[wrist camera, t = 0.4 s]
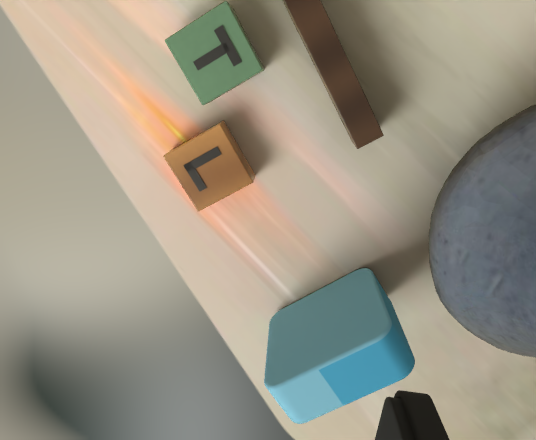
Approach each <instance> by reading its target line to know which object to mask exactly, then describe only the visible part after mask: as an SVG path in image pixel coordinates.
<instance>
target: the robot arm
mask: <svg viewBox="0 0 536 440" xmlns="http://www.w3.org/2000/svg"><path fill="white" fill-rule="evenodd" d="M375 440H449V438H448V435H447V433H446V431H445V429H444V426H443V424H442V422H441V419H440V417H439V415H438V413H437V410H436V408H435V406H434V403H433V401H432V399H431V397H430V396H429V395H428V394H423V393H415V392H408V391H400V390H399V391H397V392H396V394H395V396H394V398H392V397H387V398H386V399H385V402H384V406H383V410H382V414H381V418H380V422H379V426H378V430H377V433H376V437H375Z"/></svg>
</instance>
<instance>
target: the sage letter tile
mask: <svg viewBox="0 0 536 440" xmlns="http://www.w3.org/2000/svg"><path fill="white" fill-rule="evenodd" d="M165 42H166V44H167V45H168V47H169V49H170V51H171V52H172V54H173V56H174V57H175V59H176V61H177V63H178V64H179V66H180V68H181V69H182V71H183V73H184V75H185V76H186V78H187V80H188V81H189V83H190V85H191V87H192V88H193V90H194V92H195V93H196V95H197V97H198V99H199V100H200V102H201V104H202V105H205V104H207V103H209V102H211V101H213V100H214V99H216V98H218V97H219V96H221V95H223V94H224V93H226V92H228V91H229V90H231V89H233V88H235V87H236V86H238V85H240V84H241V83H243V82H245V81H246V80H248V79H250V78H251V77H253V76H255V75H257V74H258V73H260V72H262V71H263V70H264V67H263V65H262V64H261V62H260V60H259V58H258V56H257V54H256V52H255V50H254V48H253V46H252V45H251V43H250V41H249V39H248V37H247V35H246V33H245V31H244V29H243V27H242V26H241V24H240V22H239V20H238V18H237V16H236V14H235V12H234V10H233V9H232V7H231V5H230V4H229V3H228V2H227V1H225V2H223V3H221V4H220V5H218V6H217V7H215V8H214V9H212V10H211V11H209V12H207V13H206V14H204V15H203V16H201V17H200V18H198V19H197V20H195V21H193V22H192V23H190V24H189V25H187V26H186V27H184V28H183V29H181V30H179V31H178V32H176V33H175V34H173V35H172V36H170V37H169V38H167V39H165Z"/></svg>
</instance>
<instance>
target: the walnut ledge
mask: <svg viewBox="0 0 536 440" xmlns="http://www.w3.org/2000/svg"><path fill="white" fill-rule="evenodd" d="M283 2H284V4H285V6H286V8H287V11H288V13H289V15H290V17H291V19H292V21H293V23H294V25H295V27H296V29H297V31H298V33H299V35H300V37H301V39H302V41H303V43H304V45H305V47H306V49H307V51H308V53H309V55H310V57H311V59H312V61H313V63H314V65H315V67H316V69H317V71H318V73H319V75H320V77H321V79H322V82H323V84H324V86H325V88H326V90H327V92H328V94H329V96H330V98H331V100H332V102H333V104H334V106H335V108H336V110H337V112H338V114H339V116H340V118H341V120H342V122H343V124H344V126H345V128H346V130H347V132H348V134H349V136H350V138H351V140H352V142H353V143H354V145H355V146H356V147H357V149H359V148H361V147H362V146H364V145H366V144H368V143H370V142H372V141H374V140H376V139H378V138H380V137H382V136H383V133H382V131H381V129H380V126H379V124H378V122H377V120H376V118H375V116H374V114H373V112H372V109H371V107H370V105H369V103H368V101H367V99H366V97H365V94H364V92H363V90H362V88H361V86H360V84H359V82H358V79H357V77H356V75H355V73H354V71H353V69H352V67H351V65H350V62H349V60H348V58H347V56H346V54H345V52H344V50H343V47H342V45H341V43H340V41H339V39H338V37H337V35H336V33H335V30H334V28H333V26H332V24H331V22H330V20H329V18H328V15H327V13H326V11H325V9H324V7H323V5H322V3H321V1H320V0H283Z"/></svg>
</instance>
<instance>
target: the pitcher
mask: <svg viewBox="0 0 536 440" xmlns="http://www.w3.org/2000/svg"><path fill="white" fill-rule="evenodd" d="M429 263H430V268H431V272H432V277H433V281H434V285H435V288H436V292H437V294H438V296H439V298H440V300H441V302H442V303H443V305H444V306H445V308H446V309H447V310H448V312H449V313H450V314H451V315H452V316H453V317H454V318H455V319H456V320H457V321H458V322H459V323H460V324H461V325H462V326H463V327H464V328H465V329H467V330H468V331H470V332H471V333H472V334H474V335H475V336H477V337H478V338H480V339H482V340H484V341H486V342H487V343H489V344H491V345H493V346H495V347H496V348H499V349H502V350H505V351H508V352H511V353H515V354H519V355H523V356H530V357H536V105H534V106H531V107H529V108H527V109H525V110H523V111H522V112H520V113H518V114H516V115H515V116H513V117H511V118H510V119H508V120H507V121H505V122H503V123H502V124H500V125H499V126H497V127H496V128H494V129H493V130H492V131H491V132H489V133H488V134H487V135H486V136H484V137H483V138H482V139H480V140H479V141H478V142H477V143H476V144H475V145H474V146H473V147H472V148H471V149H470V150H469V151H468V152H467V153H466V154H465V156H464V157H463V158H462V159H461V160H460V161H459V163H458V164H457V165H456V166H455V168H454V169H453V170H452V172H451V173H450V175H449V176H448V178H447V180H446V181H445V183H444V185H443V187H442V189H441V191H440V193H439V195H438V197H437V200H436V203H435V206H434V209H433V212H432V216H431V223H430V231H429Z"/></svg>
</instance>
